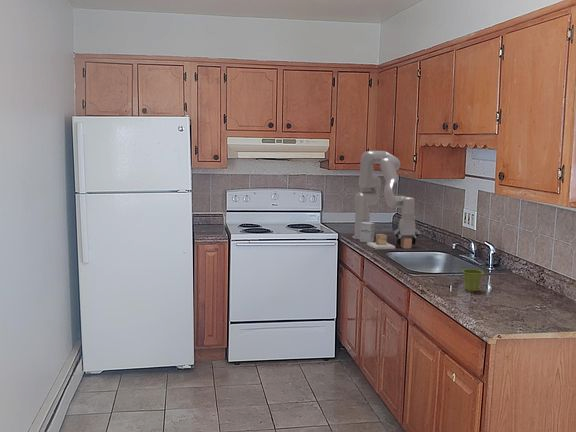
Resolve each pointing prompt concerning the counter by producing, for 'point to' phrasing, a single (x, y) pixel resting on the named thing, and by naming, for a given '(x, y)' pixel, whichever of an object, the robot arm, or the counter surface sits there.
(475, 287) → the plant pot
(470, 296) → the counter surface
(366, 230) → the supplement box
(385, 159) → the robot arm
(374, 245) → the baseplate
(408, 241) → the terracotta block
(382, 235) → the oak block
